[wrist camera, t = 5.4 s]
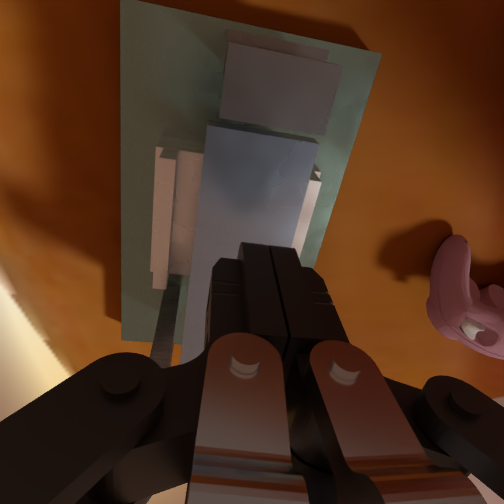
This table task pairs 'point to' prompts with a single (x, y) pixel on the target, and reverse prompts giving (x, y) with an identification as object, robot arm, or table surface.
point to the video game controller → (465, 301)
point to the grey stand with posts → (194, 134)
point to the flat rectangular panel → (242, 205)
